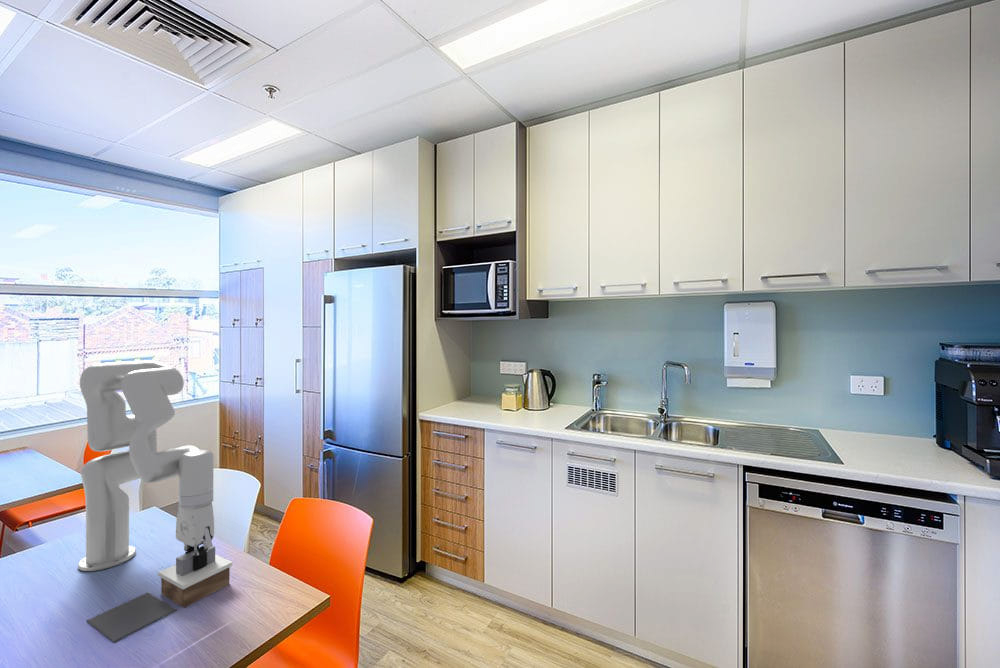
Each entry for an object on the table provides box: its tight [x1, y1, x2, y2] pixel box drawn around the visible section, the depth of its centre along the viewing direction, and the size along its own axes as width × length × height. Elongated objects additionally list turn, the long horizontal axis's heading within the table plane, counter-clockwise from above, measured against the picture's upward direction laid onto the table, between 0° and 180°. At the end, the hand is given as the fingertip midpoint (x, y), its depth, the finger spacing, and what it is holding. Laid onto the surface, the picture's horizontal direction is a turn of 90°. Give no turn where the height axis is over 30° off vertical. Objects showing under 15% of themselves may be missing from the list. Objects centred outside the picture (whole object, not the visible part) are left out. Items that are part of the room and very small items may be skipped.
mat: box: [86, 592, 177, 643], centre depth 102 cm, size 14×12×1 cm
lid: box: [157, 545, 233, 589], centre depth 112 cm, size 12×12×5 cm
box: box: [160, 567, 231, 609], centre depth 112 cm, size 11×11×5 cm
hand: (196, 565), depth 112 cm, fingers closed on lid, 3 cm apart
